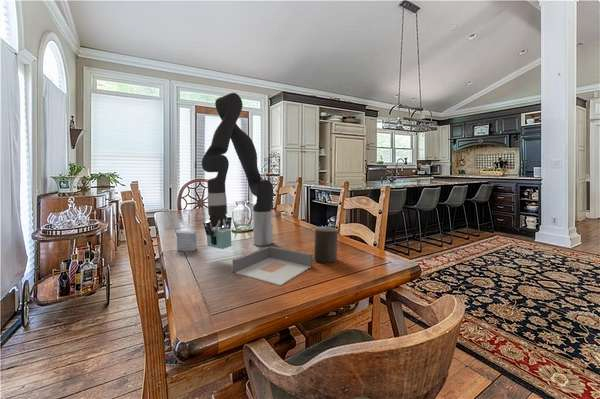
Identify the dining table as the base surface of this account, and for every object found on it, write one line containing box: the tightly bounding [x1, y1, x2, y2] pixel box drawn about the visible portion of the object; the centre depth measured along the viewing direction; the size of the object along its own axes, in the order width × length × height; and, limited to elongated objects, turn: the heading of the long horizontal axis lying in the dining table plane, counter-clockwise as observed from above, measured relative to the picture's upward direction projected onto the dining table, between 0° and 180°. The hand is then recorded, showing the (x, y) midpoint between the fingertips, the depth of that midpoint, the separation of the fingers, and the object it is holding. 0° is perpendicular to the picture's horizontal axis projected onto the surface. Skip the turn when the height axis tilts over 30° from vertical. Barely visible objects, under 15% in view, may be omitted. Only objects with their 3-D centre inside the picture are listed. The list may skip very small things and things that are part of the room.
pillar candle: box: [313, 226, 339, 264], centre depth 120 cm, size 10×10×15 cm
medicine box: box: [175, 230, 198, 252], centre depth 133 cm, size 8×4×9 cm, turn 84°
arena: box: [232, 245, 314, 287], centre depth 109 cm, size 22×22×5 cm
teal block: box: [206, 227, 232, 250], centre depth 118 cm, size 5×9×7 cm, turn 60°
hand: (219, 242), depth 119 cm, fingers closed on teal block, 5 cm apart
